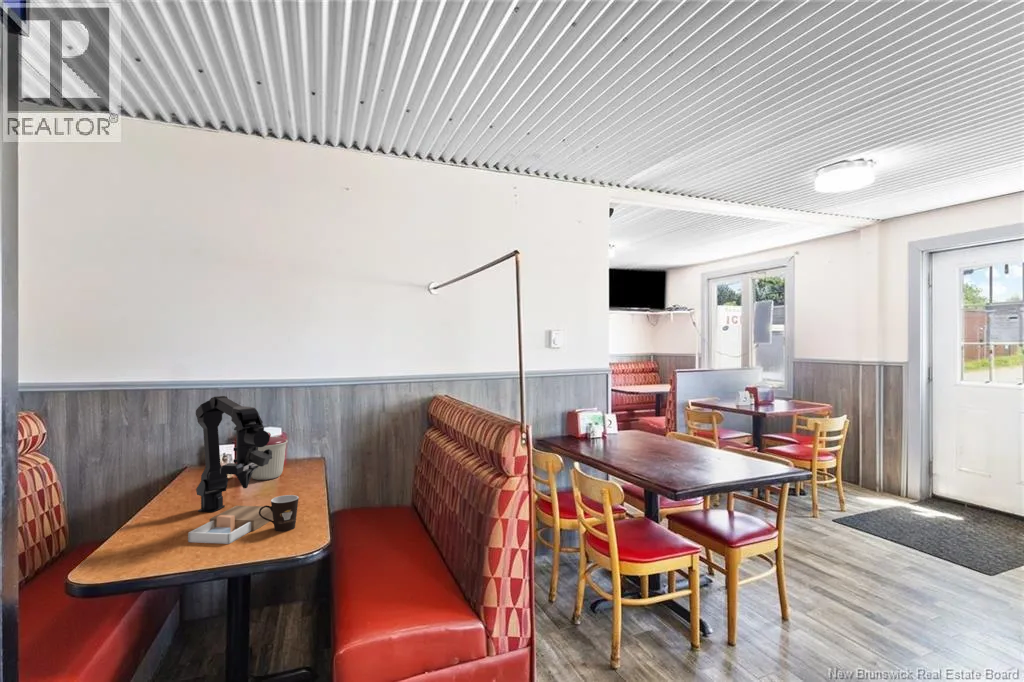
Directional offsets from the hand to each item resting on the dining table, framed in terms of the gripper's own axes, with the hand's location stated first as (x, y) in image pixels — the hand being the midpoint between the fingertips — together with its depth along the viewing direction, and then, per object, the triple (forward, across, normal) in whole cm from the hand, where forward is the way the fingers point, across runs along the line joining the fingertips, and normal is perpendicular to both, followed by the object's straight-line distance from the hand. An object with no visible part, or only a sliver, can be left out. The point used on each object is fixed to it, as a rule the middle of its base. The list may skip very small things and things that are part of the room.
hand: (245, 488), depth 178 cm
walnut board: (+12, -1, -1) cm, 12 cm away
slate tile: (+9, -15, -1) cm, 17 cm away
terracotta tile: (+9, -9, 0) cm, 13 cm away
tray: (+12, -14, -1) cm, 18 cm away
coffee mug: (+12, -5, -16) cm, 21 cm away
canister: (+12, +56, +27) cm, 63 cm away
